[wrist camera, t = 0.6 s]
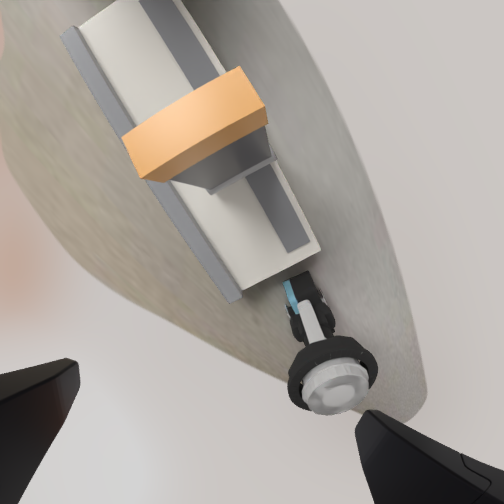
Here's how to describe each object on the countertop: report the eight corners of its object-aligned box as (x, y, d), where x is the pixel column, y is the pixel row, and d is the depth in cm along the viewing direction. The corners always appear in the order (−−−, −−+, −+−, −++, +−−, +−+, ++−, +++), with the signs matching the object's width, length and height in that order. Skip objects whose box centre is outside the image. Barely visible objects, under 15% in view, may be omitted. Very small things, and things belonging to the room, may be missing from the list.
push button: (348, 319, 26) (392, 409, 17) (291, 345, 27) (315, 441, 18) (323, 257, 24) (374, 346, 15) (258, 287, 24) (275, 388, 15)
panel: (79, 45, 16) (56, 38, 13) (169, -14, 15) (159, -32, 12) (226, 279, 24) (226, 305, 21) (312, 235, 23) (324, 255, 20)
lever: (201, 171, 18) (116, 136, 8) (263, 137, 17) (241, 61, 8) (214, 196, 18) (139, 183, 8) (277, 161, 18) (270, 107, 8)
